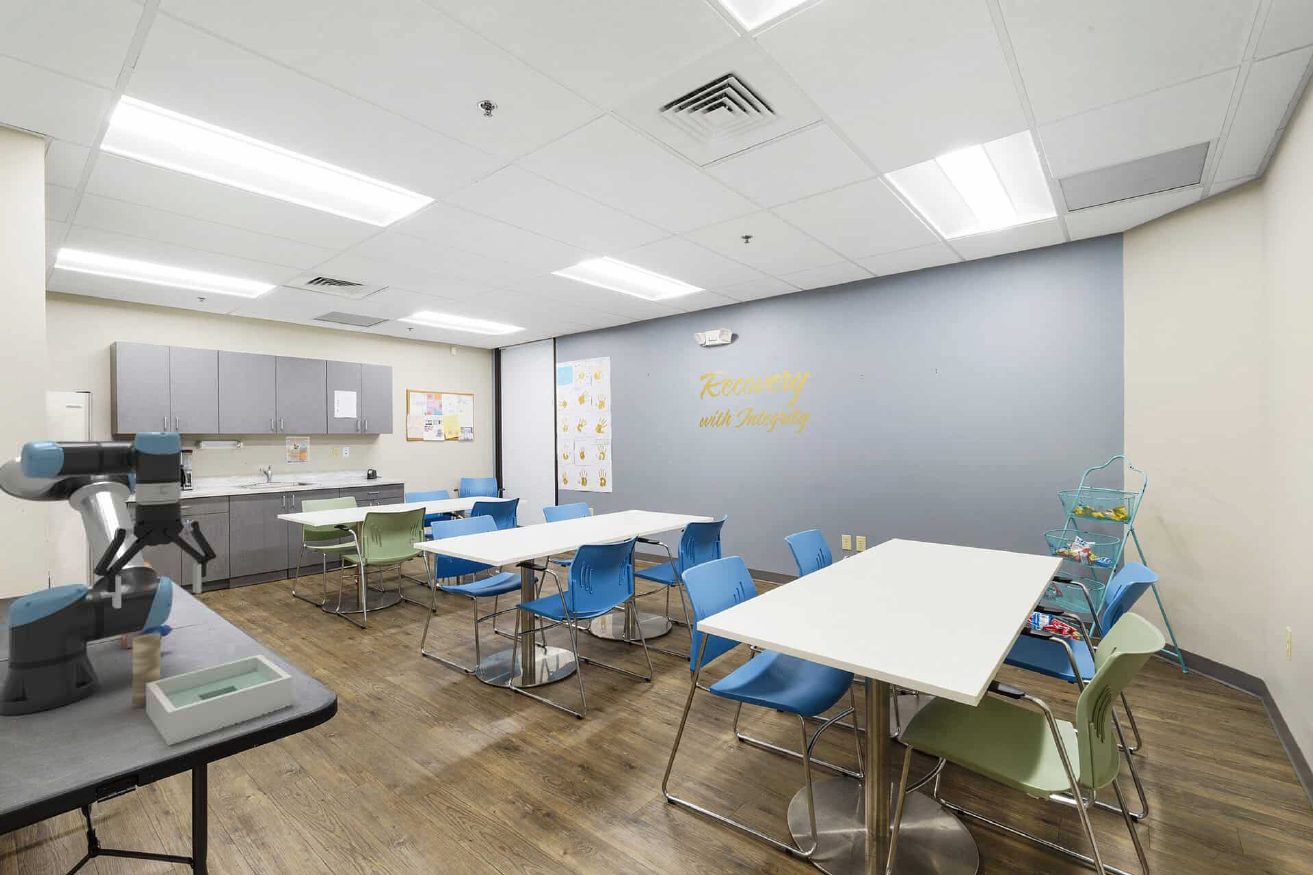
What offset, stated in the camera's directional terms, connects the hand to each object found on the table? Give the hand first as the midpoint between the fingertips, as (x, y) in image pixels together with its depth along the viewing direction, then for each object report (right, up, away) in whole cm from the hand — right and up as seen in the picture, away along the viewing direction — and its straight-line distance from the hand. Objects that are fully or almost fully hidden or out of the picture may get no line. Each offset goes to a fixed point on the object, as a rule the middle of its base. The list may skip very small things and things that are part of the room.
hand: (158, 599), depth 124 cm
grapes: (-22, -22, +24) cm, 39 cm away
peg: (0, -21, -3) cm, 21 cm away
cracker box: (-36, -22, +35) cm, 55 cm away
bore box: (+18, -21, -6) cm, 28 cm away
